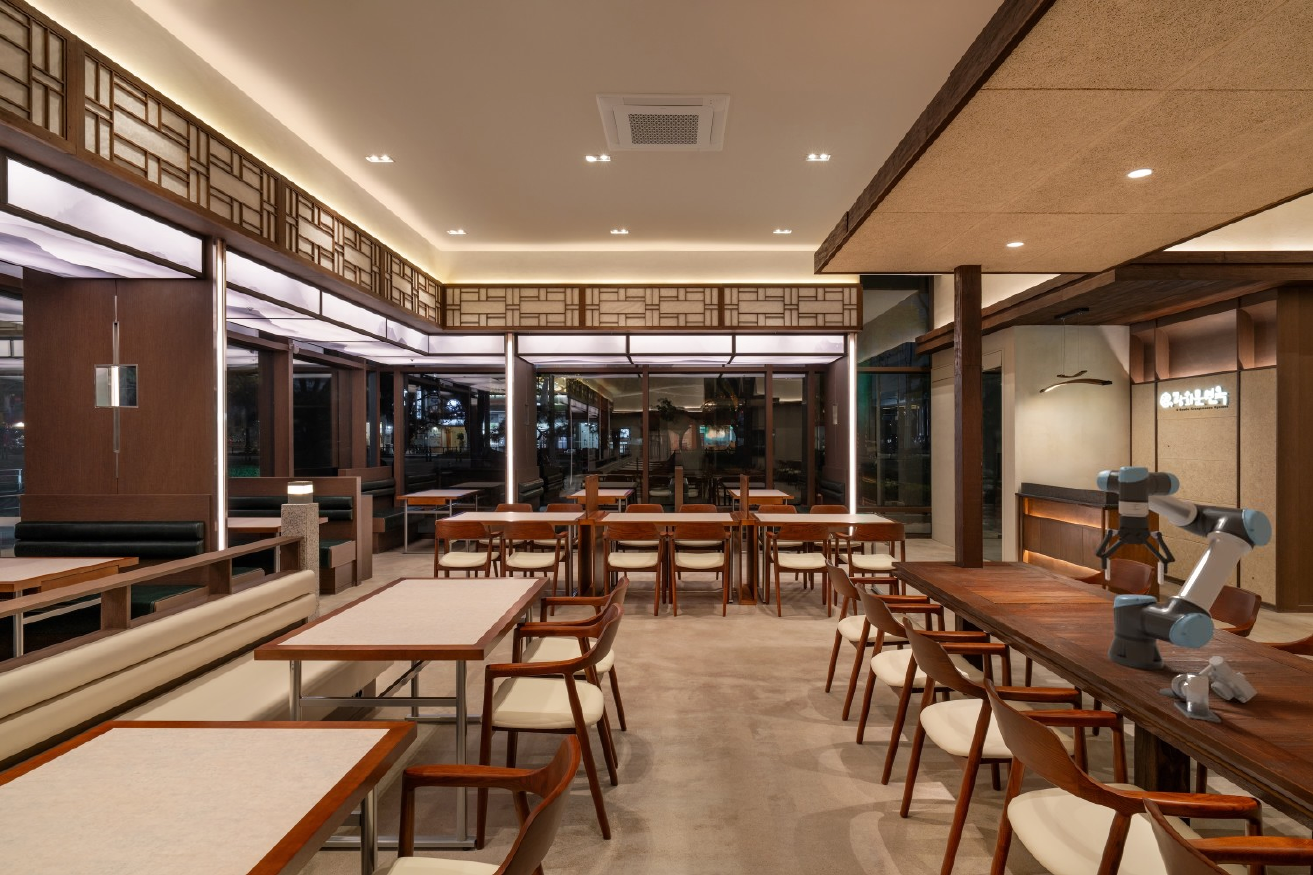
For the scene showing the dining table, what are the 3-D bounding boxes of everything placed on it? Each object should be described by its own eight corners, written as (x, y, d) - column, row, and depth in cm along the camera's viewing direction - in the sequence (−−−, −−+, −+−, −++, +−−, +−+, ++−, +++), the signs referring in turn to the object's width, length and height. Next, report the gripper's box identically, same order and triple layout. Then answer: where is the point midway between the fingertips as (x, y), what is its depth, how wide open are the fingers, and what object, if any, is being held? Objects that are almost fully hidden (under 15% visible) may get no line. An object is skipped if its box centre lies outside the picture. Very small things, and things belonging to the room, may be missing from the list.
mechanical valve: (1266, 699, 174) (1236, 659, 174) (1217, 737, 174) (1187, 698, 174) (1231, 682, 185) (1202, 645, 184) (1185, 719, 185) (1156, 682, 184)
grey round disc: (1157, 690, 187) (1157, 687, 187) (1181, 693, 185) (1181, 690, 185) (1163, 697, 182) (1163, 694, 182) (1188, 701, 179) (1188, 698, 179)
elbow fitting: (1170, 702, 178) (1170, 664, 178) (1200, 706, 175) (1200, 668, 175) (1188, 719, 167) (1188, 679, 167) (1220, 723, 165) (1220, 682, 165)
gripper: (1088, 514, 196) (1088, 580, 196) (1187, 518, 185) (1188, 588, 185) (1084, 511, 202) (1084, 575, 202) (1179, 515, 191) (1179, 583, 191)
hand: (1133, 581), depth 193 cm, fingers open, 13 cm apart
